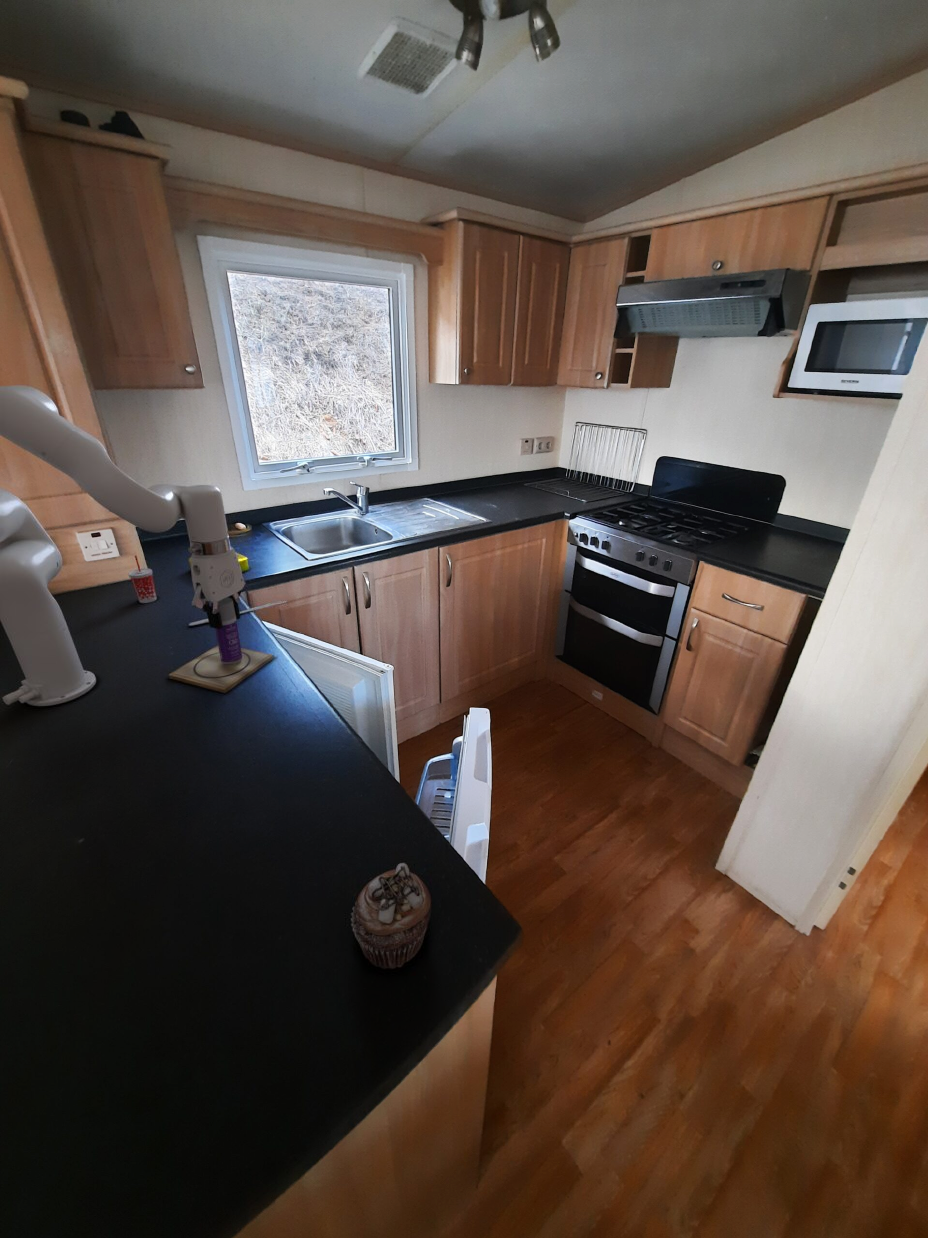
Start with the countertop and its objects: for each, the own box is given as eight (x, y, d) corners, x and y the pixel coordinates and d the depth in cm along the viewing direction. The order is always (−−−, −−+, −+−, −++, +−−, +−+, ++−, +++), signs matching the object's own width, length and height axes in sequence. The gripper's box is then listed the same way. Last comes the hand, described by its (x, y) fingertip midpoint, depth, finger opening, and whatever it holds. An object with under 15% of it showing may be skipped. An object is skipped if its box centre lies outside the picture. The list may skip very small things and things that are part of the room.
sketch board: (225, 693, 110) (224, 688, 110) (169, 678, 115) (168, 673, 114) (273, 658, 124) (273, 654, 123) (222, 646, 128) (221, 642, 128)
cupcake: (402, 886, 70) (399, 835, 65) (446, 941, 63) (446, 888, 59) (339, 931, 64) (332, 878, 60) (381, 996, 58) (376, 942, 53)
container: (234, 665, 117) (224, 606, 110) (216, 662, 118) (205, 603, 111) (246, 655, 121) (237, 598, 114) (228, 653, 122) (218, 595, 115)
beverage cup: (164, 598, 154) (152, 554, 148) (144, 605, 149) (131, 560, 143) (151, 594, 157) (139, 551, 150) (131, 601, 152) (118, 557, 145)
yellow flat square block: (251, 569, 177) (249, 556, 175) (208, 581, 167) (205, 567, 165) (231, 559, 186) (228, 547, 184) (189, 570, 176) (185, 556, 173)
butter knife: (187, 621, 139) (189, 625, 137) (284, 599, 154) (287, 602, 152) (187, 623, 139) (190, 627, 137) (284, 601, 154) (288, 604, 152)
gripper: (192, 560, 99) (209, 642, 107) (253, 537, 113) (264, 611, 121) (163, 554, 101) (182, 635, 109) (226, 533, 115) (239, 605, 123)
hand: (225, 622), depth 115 cm, fingers closed on container, 4 cm apart
